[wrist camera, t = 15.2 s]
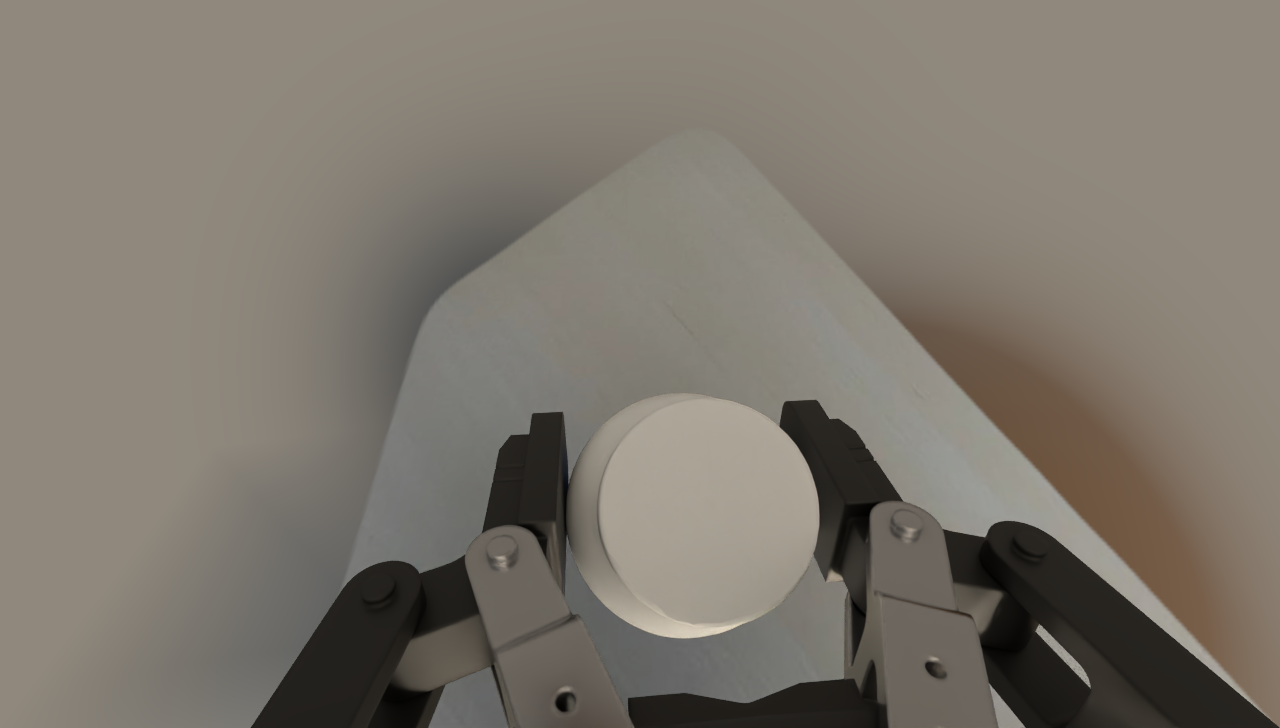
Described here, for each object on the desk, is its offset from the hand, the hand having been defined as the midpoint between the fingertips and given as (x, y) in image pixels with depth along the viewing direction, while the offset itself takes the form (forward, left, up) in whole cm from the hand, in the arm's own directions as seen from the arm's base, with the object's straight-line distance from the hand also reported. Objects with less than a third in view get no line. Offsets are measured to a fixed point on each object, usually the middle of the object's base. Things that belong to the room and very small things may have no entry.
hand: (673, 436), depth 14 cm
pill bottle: (+1, -2, -6) cm, 6 cm away
